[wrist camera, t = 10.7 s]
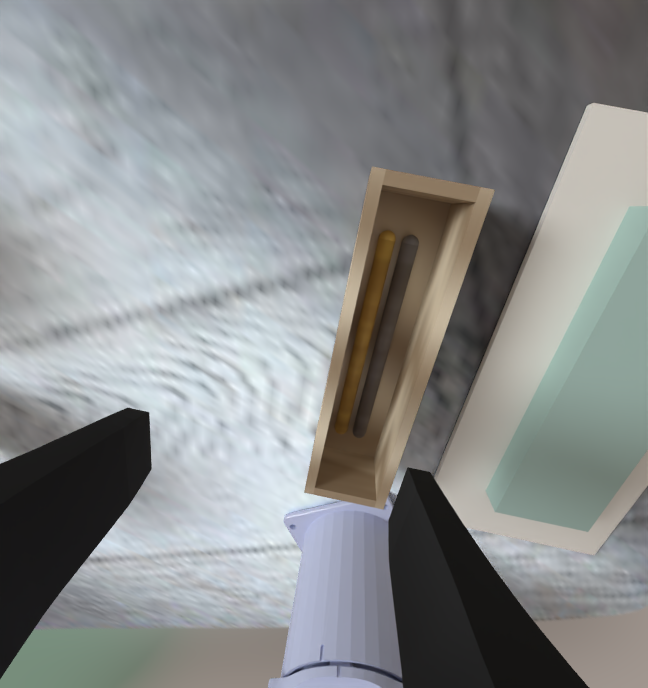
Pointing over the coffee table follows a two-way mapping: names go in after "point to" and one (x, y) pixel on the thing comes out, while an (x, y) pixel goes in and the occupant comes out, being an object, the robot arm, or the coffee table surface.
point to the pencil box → (391, 328)
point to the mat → (549, 325)
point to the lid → (587, 399)
